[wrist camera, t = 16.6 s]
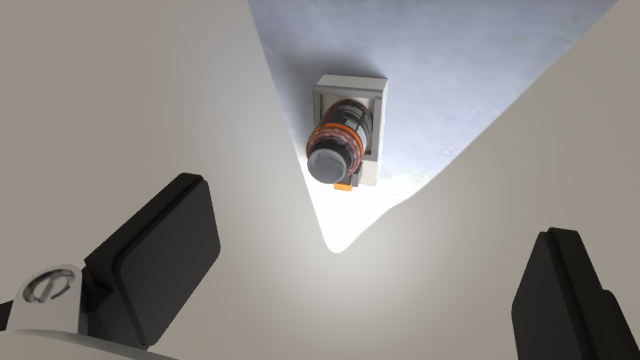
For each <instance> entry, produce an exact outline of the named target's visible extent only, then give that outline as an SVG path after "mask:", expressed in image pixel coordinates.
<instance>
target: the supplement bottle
mask: <svg viewBox="0 0 640 360" xmlns="http://www.w3.org/2000/svg"><path fill="white" fill-rule="evenodd" d="M372 128H373V120H372V117H371V114H370V112H369V111H368V109H367V108H366V107H365V106H364V105H362V104H361V103H359V102H357V101H354V100H341V101H338V102H336V103H334V104H333V105H332V106H331V107H330V108H329V109H328V110H327V112H326V113H325V115H324V116H323V118H322V119H321V121H320V122H319V124H318V125H317V127H316V128H315V130H314V131H313V133H312V135H311V136H310V138H309V140H308V142H307V146H306V153H307V158H308V162H307V165H308V170H309V172H310V173H311V175H312V176H313V177H314V178H315V179H316V180H318V181H320V182H322V183H326V184H333V183H337V182H339V181H340V180H342V179H343V178H344V177H346V176H349V175H350V174H352V173H353V172H354V171H355V170H356V169H357V167H358V166H359V164H360V162H361V159H362V157H363V154H364V151H365V148H366V146H367V143H368V140H369V138H370V135H371V132H372Z"/></svg>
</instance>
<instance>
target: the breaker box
mask: <svg viewBox="0 0 640 360" xmlns="http://www.w3.org/2000/svg"><path fill="white" fill-rule="evenodd" d="M387 88H388V79H381V78H368V77H354V76H340V75H327V74H324V75H323V77H322V78H321V79H320V80H319V81H318V82H317V83H316V85H315V86H314V87H313V102H314V130H315V128H316V127H317V125H318V124H319V122H320V121H321V119H322V118H323V116H324V115H325V113H326V112H327V110H328V109H329V108H330V107H331V106H332V105H333V104H334V103H336V102H338V101H341V100H354V101H357V102H359V103H361V104H362V105H364V106H365V107H366V108H367V109H368V111H369V112H370V114H371V117H372V120H373V128H372V132H371V135H370V138H369V140H368V143H367V146H366V148H365V151H364V154H363V157H362V159H361V162H360V164H359V166H358V167H357V169H356V170H355V171H354V172H353V173H352V186H354V187H358V184H364V185H371V186H376V185H377V182H378V178H379V175H380V171H381V160H382V148H383V136H384V124H385V112H386V100H387Z"/></svg>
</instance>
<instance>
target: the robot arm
mask: <svg viewBox="0 0 640 360" xmlns="http://www.w3.org/2000/svg"><path fill="white" fill-rule="evenodd" d="M220 248H221V247H220V241H219V236H218V231H217V226H216V221H215V216H214V212H213V206H212V201H211V196H210V191H209V186H208V183H207V181H205V180H204V179H203V177H202V176H201V175H197V174H190V173H181V174H179V175H178V176H177V177H176V178H175V179H174V180H173V181H172V182H170V183H169V184H168V185H167V186H166V187H165V188H164V189H163V190H161V191H160V192H159V193H158V194H157V195H156V196H155V197H154V198H153V199H151V200H150V201H149V202H148V203H147V204H146V205H145V206H144V207H142V208H141V209H140V210H139V211H138V212H137V213H136V214H135V215H134V216H132V217H131V218H130V219H129V220H128V221H127V222H126V223H125V224H123V225H122V226H121V227H120V228H119V229H118V230H117V231H116V232H114V233H113V234H112V235H111V236H110V237H109V238H108V239H107V240H106V241H104V242H103V243H102V244H101V245H100V246H99V247H98V248H97V249H95V250H94V251H93V252H92V253H91V254H90V255H89V256H88V257H86V258H85V259H84V261H85V264H86V266H85V267H84V268H83V269H82V270H80V269H79V268H78V267H76V266H73V265H64V264H62V265H57V266H52V267H50V268H46V269H44V270H42V271H40V272H38V273H36V274H34V275H32V276H31V277H30V278H28V279H27V280H26V281H25V282H24V283H23V284H22V285H21V286H20V287H19V288H18V290H17V293H16V295H15V298H14V300H12V301H9V302H6V303H3V304H0V360H178V359H174V358H170V357H167V356H163V355H159V354H155V353H152V352H148V351H147V349H148V348H149V346H152V345H154V344H156V343H157V342H158V340H159V339H160V337H161V336H162V335H163V333H164V332H165V331H166V329H167V328H168V326H169V325H170V324H171V322H172V321H173V319H174V318H175V317H176V315H177V314H178V312H179V311H180V309H181V308H182V307H183V305H184V304H185V302H186V301H187V300H188V298H189V297H190V295H191V294H192V293H193V291H194V290H195V289H196V287H197V286H198V284H199V283H200V282H201V280H202V279H203V277H204V276H205V275H206V273H207V272H208V270H209V269H210V267H211V266H212V265H213V263H214V262H215V261H216V259H217V258H218V256H219V253H220ZM511 313H512V323H513V329H514V335H515V341H516V347H517V354H518V360H640V351H639V348H638V346H637V344H636V342H635V339H634V337H633V335H632V333H631V331H630V328H629V326H628V324H627V322H626V320H625V317H624V315H623V313H622V311H621V309H620V306H619V304H618V302H617V300H616V298H615V296H614V295H613V293H611V292H610V291H609V290H603V289H602V286H601V284H600V282H599V279H598V277H597V275H596V272H595V270H594V268H593V265H592V263H591V261H590V258H589V256H588V254H587V251H586V249H585V246H584V244H583V242H582V240H581V237H580V235H579V233H578V232H577V231H574V230H567V229H561V228H554V227H551V228H549V229H548V231H547V232H540V233H539V235H538V237H537V239H536V242H535V245H534V248H533V250H532V253H531V256H530V258H529V261H528V263H527V266H526V269H525V271H524V274H523V277H522V279H521V282H520V285H519V288H518V290H517V293H516V296H515V298H514V301H513V304H512V311H511Z"/></svg>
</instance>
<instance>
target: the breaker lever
mask: <svg viewBox="0 0 640 360" xmlns="http://www.w3.org/2000/svg"><path fill="white" fill-rule="evenodd" d="M334 189H338V190H345V191H351V190H352V174H350V175H349V176H346V177H344V178H343V179H342V180H340V181H339V182H337V183H334Z"/></svg>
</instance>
